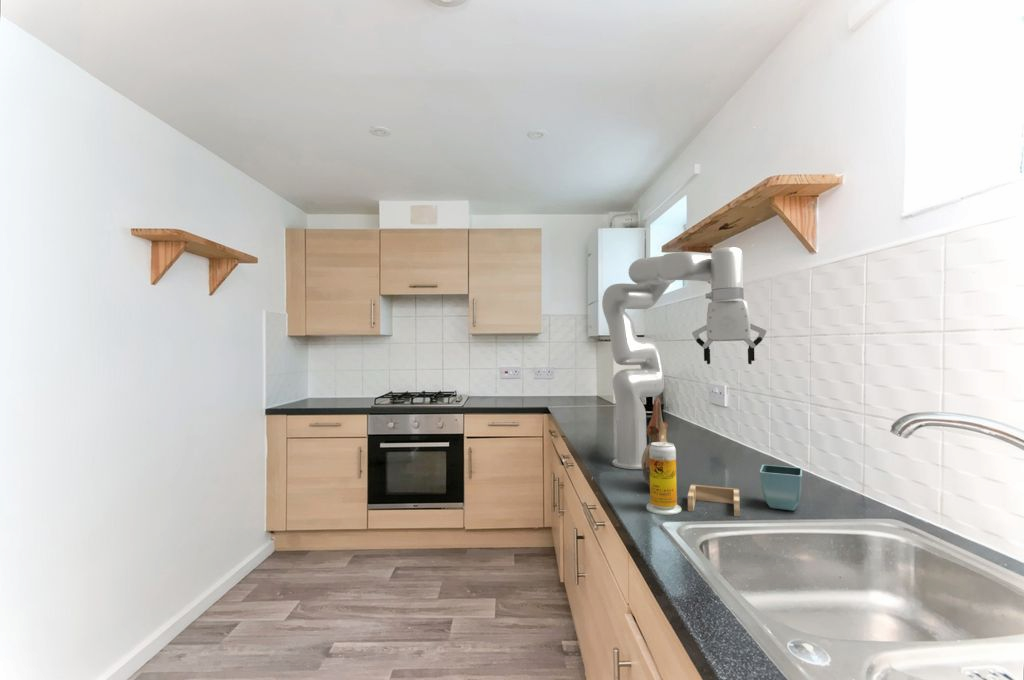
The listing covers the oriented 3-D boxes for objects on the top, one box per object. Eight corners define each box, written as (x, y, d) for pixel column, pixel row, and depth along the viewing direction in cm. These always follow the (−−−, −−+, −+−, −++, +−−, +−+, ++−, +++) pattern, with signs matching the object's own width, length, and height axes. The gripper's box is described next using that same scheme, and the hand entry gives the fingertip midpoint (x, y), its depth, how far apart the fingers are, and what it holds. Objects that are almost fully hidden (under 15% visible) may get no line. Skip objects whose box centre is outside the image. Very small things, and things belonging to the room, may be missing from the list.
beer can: (647, 508, 118) (646, 445, 118) (653, 501, 123) (652, 440, 123) (674, 512, 115) (673, 447, 115) (678, 504, 120) (677, 442, 121)
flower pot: (763, 499, 126) (762, 463, 126) (803, 504, 121) (802, 467, 121) (760, 509, 118) (759, 471, 118) (803, 515, 113) (802, 475, 114)
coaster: (649, 502, 124) (649, 500, 124) (682, 506, 121) (682, 503, 121) (644, 512, 117) (644, 510, 117) (679, 516, 114) (679, 514, 114)
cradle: (691, 498, 127) (690, 484, 127) (739, 502, 123) (738, 488, 123) (687, 510, 118) (687, 495, 118) (739, 516, 113) (739, 501, 113)
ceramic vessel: (671, 499, 127) (669, 401, 127) (636, 495, 131) (634, 400, 131) (680, 482, 142) (678, 395, 142) (647, 479, 146) (646, 394, 146)
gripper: (690, 297, 127) (691, 364, 126) (766, 293, 120) (768, 364, 119) (692, 299, 133) (693, 363, 133) (764, 296, 126) (766, 363, 126)
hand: (728, 364), depth 126 cm, fingers open, 9 cm apart
